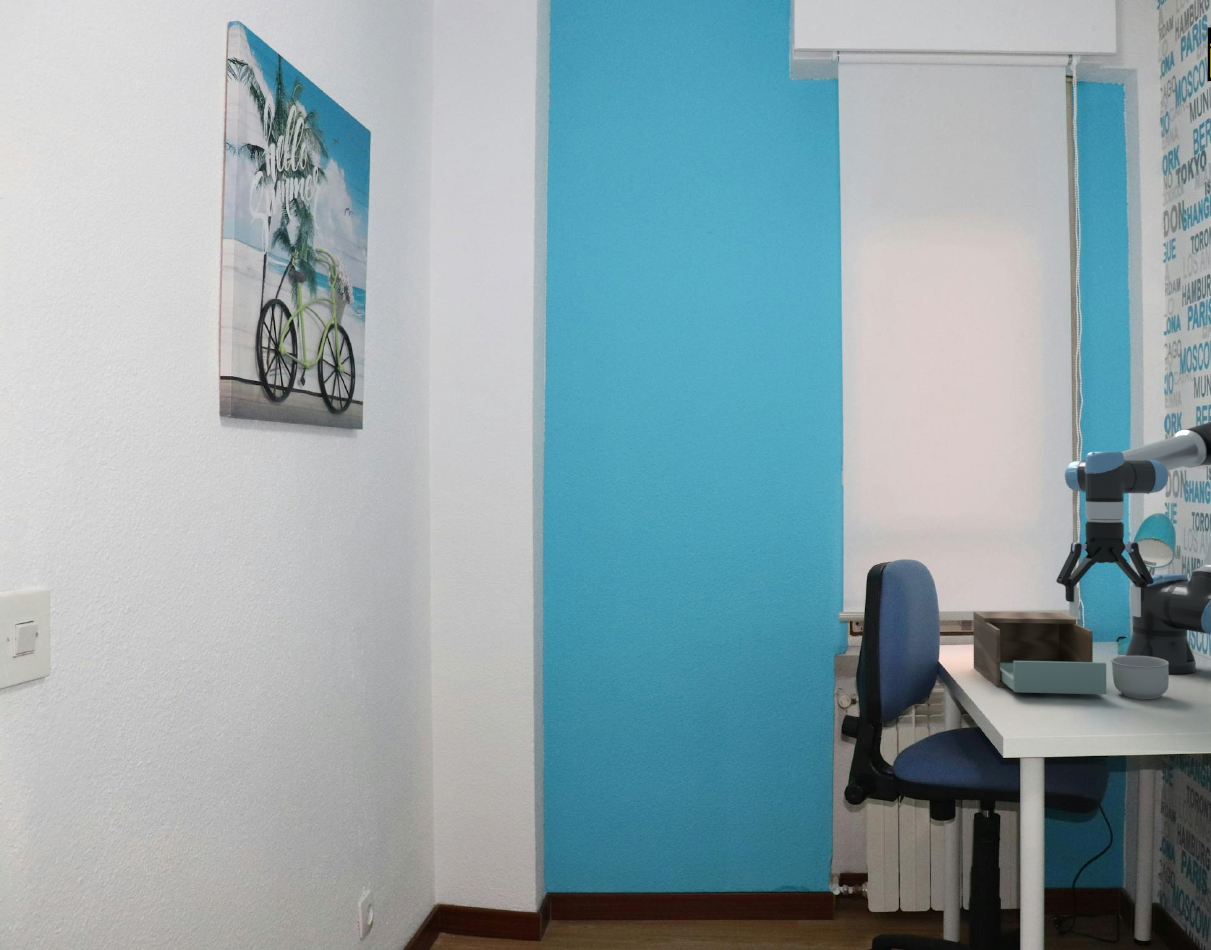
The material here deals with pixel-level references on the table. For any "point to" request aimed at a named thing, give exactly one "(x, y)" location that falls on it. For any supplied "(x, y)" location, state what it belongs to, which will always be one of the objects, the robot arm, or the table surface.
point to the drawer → (1055, 677)
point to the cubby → (1027, 640)
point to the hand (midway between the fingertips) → (1104, 616)
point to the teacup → (1140, 676)
